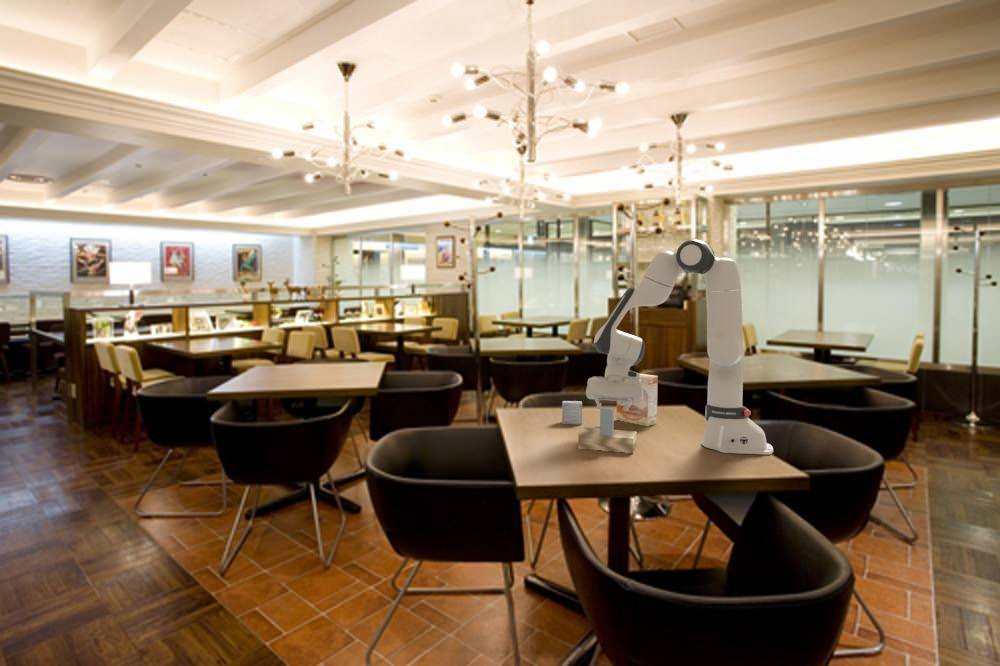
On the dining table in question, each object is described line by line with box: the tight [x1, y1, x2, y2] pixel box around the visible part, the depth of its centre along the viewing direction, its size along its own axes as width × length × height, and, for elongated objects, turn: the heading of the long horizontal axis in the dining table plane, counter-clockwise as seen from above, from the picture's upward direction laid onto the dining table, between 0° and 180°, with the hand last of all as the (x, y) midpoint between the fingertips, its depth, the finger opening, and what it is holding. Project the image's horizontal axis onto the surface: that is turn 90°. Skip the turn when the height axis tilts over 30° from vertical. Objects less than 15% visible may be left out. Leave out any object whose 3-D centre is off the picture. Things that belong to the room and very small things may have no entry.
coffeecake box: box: [615, 373, 659, 427], centre depth 232 cm, size 15×7×20 cm, turn 43°
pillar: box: [599, 406, 615, 436], centre depth 192 cm, size 4×4×9 cm
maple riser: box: [577, 427, 638, 454], centre depth 195 cm, size 18×10×5 cm, turn 71°
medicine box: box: [561, 400, 583, 425], centre depth 230 cm, size 8×4×9 cm, turn 84°
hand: (612, 409), depth 203 cm, fingers open, 8 cm apart
